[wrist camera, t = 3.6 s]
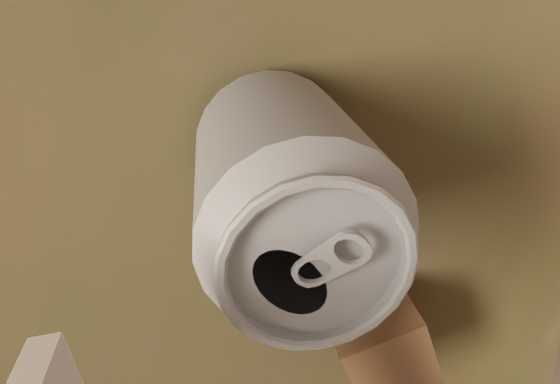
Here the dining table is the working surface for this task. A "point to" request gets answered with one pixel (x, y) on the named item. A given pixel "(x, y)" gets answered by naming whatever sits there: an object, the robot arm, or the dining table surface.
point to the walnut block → (393, 351)
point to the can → (298, 216)
